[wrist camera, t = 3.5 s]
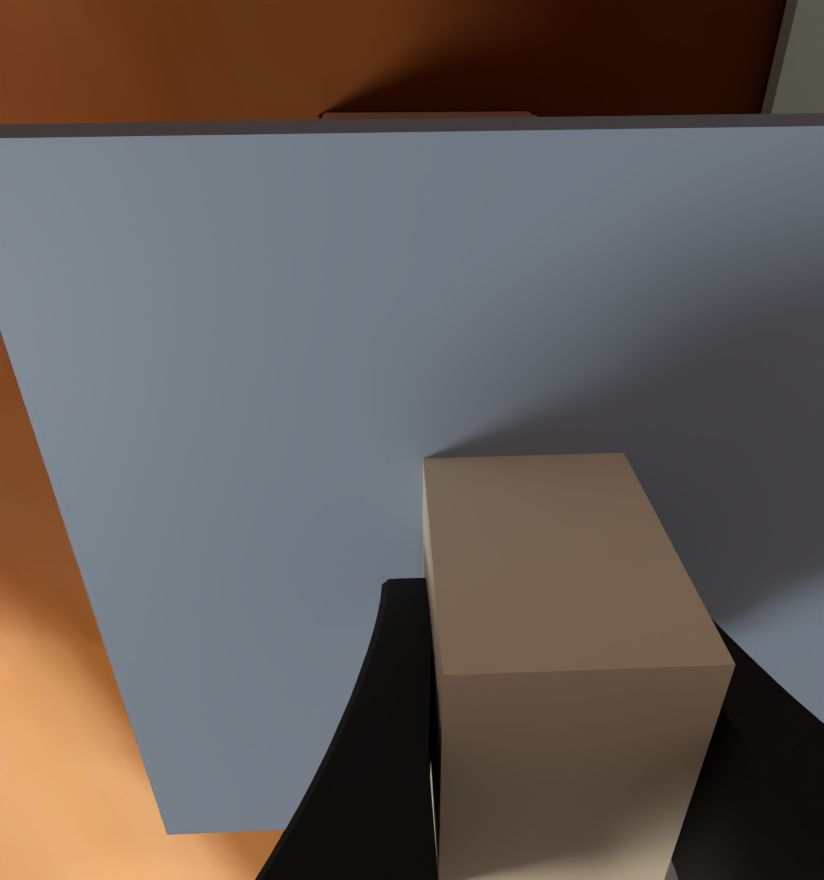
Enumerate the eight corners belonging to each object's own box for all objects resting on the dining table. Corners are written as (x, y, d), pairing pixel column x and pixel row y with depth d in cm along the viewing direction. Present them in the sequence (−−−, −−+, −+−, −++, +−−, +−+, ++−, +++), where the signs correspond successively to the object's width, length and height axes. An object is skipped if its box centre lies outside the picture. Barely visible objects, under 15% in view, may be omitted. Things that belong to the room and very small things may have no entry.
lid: (786, 766, 17) (923, 1028, 13) (178, 791, 16) (108, 1070, 12) (1071, 108, 9) (1632, 207, 5) (-22, 125, 9) (-373, 245, 5)
